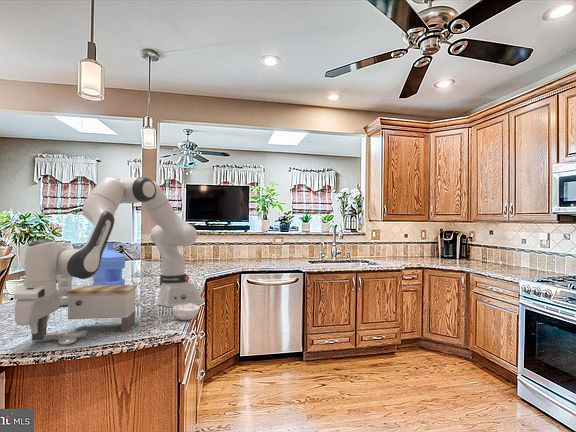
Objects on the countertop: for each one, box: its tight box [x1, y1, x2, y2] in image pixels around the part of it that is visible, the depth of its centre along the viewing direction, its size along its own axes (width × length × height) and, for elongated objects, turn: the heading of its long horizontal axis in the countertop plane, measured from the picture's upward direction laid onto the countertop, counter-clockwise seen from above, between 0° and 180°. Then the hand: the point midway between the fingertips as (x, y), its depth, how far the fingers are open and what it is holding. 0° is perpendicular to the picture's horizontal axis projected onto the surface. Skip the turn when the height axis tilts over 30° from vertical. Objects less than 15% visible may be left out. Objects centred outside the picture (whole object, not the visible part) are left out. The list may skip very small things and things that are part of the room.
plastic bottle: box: [56, 275, 74, 307], centre depth 163 cm, size 6×7×20 cm
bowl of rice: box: [172, 303, 201, 321], centre depth 143 cm, size 10×12×7 cm
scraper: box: [31, 316, 89, 342], centre depth 116 cm, size 16×3×7 cm, turn 106°
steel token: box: [57, 337, 78, 347], centre depth 113 cm, size 5×5×2 cm
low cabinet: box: [66, 284, 138, 332], centre depth 129 cm, size 21×12×15 cm, turn 99°
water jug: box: [92, 242, 126, 286], centre depth 192 cm, size 16×16×28 cm
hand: (39, 330), depth 114 cm, fingers closed on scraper, 3 cm apart
